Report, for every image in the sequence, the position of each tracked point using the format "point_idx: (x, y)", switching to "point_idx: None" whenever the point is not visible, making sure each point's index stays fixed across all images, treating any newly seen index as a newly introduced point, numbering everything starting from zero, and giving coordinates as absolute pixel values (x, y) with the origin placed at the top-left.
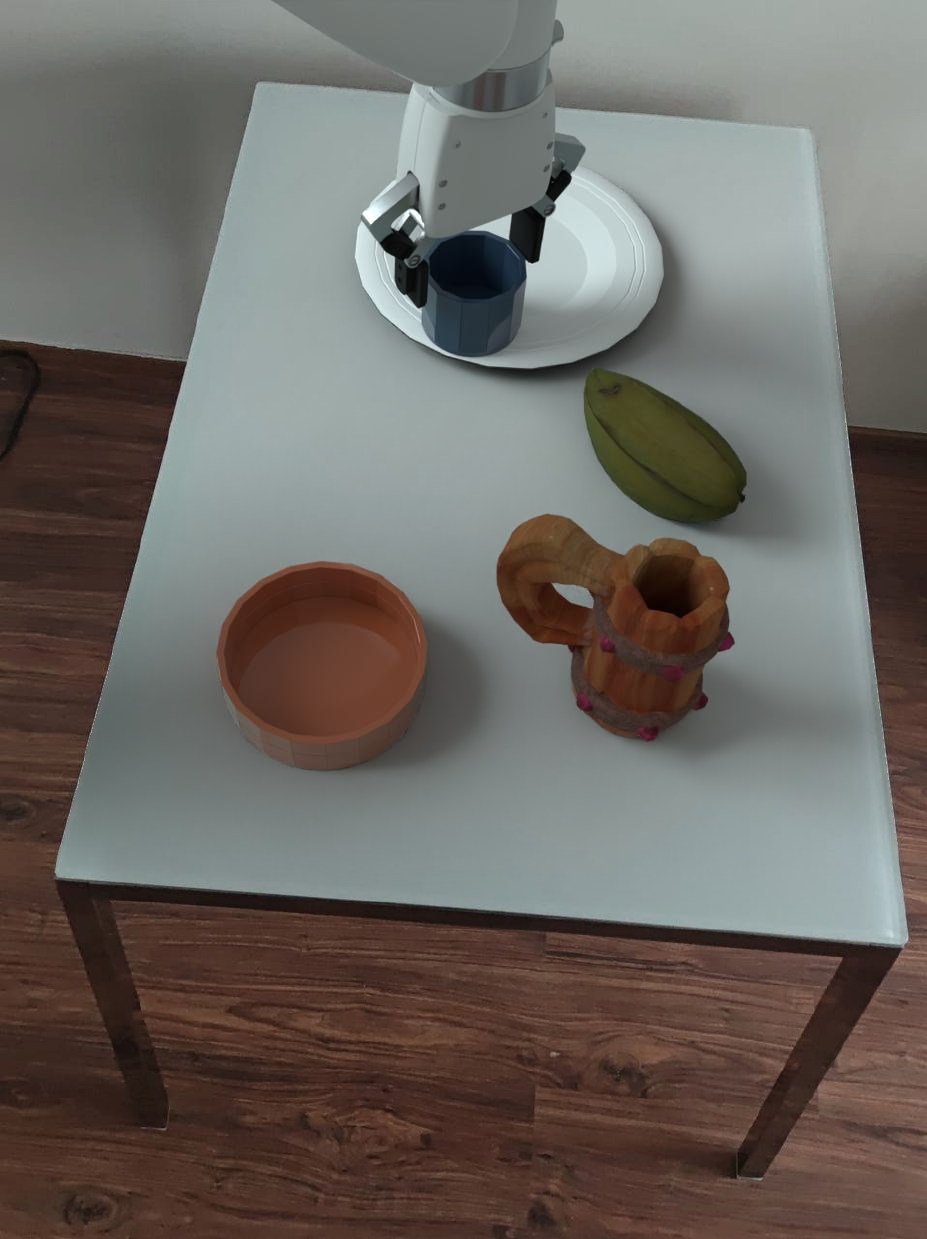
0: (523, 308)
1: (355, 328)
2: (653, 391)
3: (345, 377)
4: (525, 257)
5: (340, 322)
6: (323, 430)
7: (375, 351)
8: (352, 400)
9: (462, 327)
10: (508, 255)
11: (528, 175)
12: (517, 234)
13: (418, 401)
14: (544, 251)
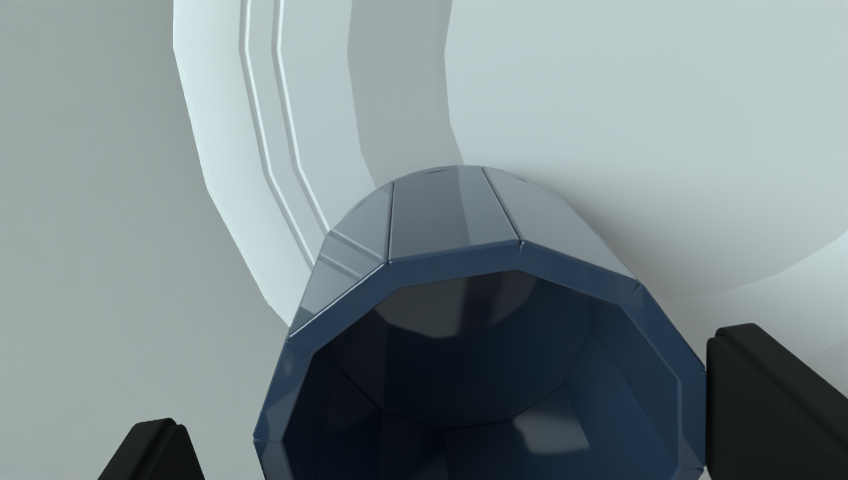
0: (634, 264)
1: (152, 141)
2: None
3: (91, 297)
4: (709, 445)
5: (111, 103)
6: (12, 423)
7: (191, 241)
8: (97, 367)
9: None
10: (659, 379)
11: None
12: (748, 431)
13: (257, 414)
14: (832, 64)
